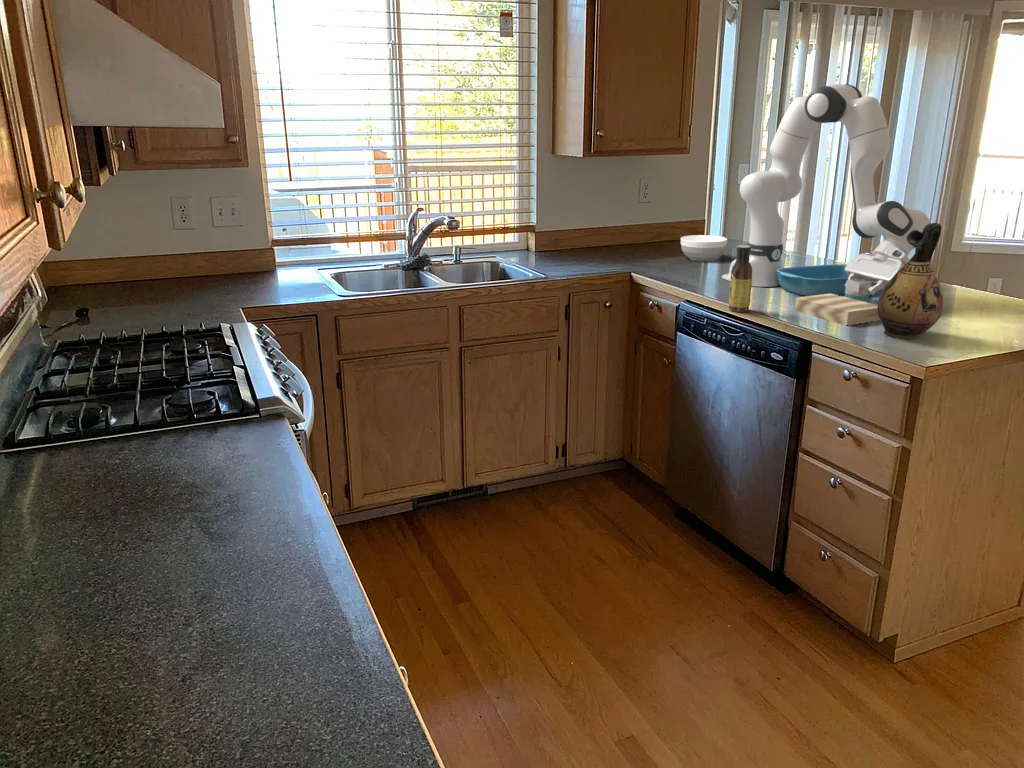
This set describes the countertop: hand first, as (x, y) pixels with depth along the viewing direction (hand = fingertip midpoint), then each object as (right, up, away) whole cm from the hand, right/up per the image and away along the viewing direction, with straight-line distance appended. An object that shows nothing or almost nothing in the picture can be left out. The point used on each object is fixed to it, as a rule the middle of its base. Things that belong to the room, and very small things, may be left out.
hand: (858, 290), depth 234 cm
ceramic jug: (-1, -16, -30) cm, 33 cm away
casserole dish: (0, +2, +24) cm, 24 cm away
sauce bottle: (-38, -7, -2) cm, 38 cm away
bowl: (-28, +23, +82) cm, 90 cm away
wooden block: (-10, -9, -9) cm, 16 cm away
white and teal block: (0, -5, +2) cm, 5 cm away
